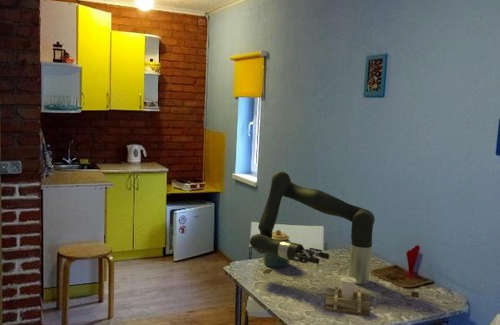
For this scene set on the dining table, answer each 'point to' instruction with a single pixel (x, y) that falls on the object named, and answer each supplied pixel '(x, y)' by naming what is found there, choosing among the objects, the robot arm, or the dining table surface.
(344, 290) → the smoothie
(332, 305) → the wooden grid tray
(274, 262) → the canister
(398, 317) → the dining table surface
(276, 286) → the dining table surface
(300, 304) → the dining table surface
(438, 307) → the dining table surface
